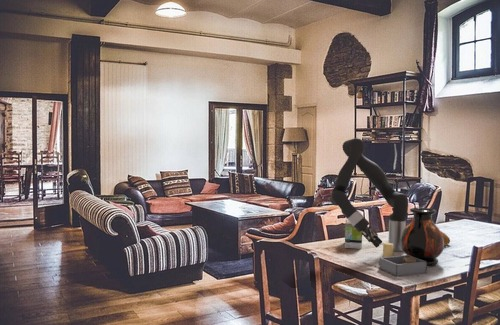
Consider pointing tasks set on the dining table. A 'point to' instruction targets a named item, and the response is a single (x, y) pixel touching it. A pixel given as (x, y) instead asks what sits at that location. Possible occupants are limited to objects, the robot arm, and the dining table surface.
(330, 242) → the dining table surface
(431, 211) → the amphora vase
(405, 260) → the cube
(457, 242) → the dining table surface
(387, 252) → the candle
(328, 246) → the dining table surface
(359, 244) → the tea box
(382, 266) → the tote
